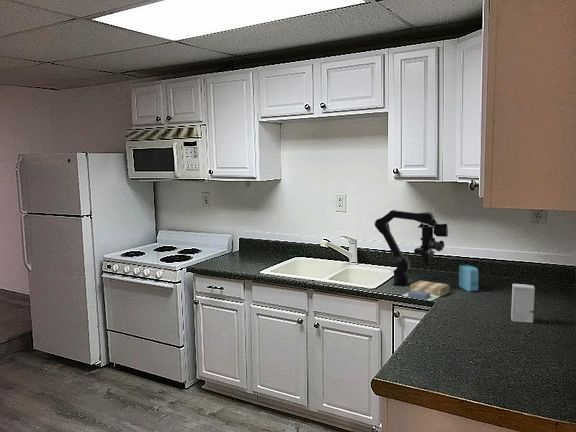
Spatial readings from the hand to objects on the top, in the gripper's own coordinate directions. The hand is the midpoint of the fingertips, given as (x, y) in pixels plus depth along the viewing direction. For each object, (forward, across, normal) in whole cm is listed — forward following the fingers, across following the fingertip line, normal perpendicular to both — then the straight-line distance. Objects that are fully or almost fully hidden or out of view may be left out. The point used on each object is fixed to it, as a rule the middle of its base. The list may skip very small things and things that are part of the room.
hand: (427, 264), depth 262 cm
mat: (+12, -20, -6) cm, 24 cm away
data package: (+12, +8, -19) cm, 24 cm away
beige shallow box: (+12, -10, -6) cm, 16 cm away
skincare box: (+12, -29, -57) cm, 65 cm away
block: (+10, -22, -6) cm, 24 cm away
